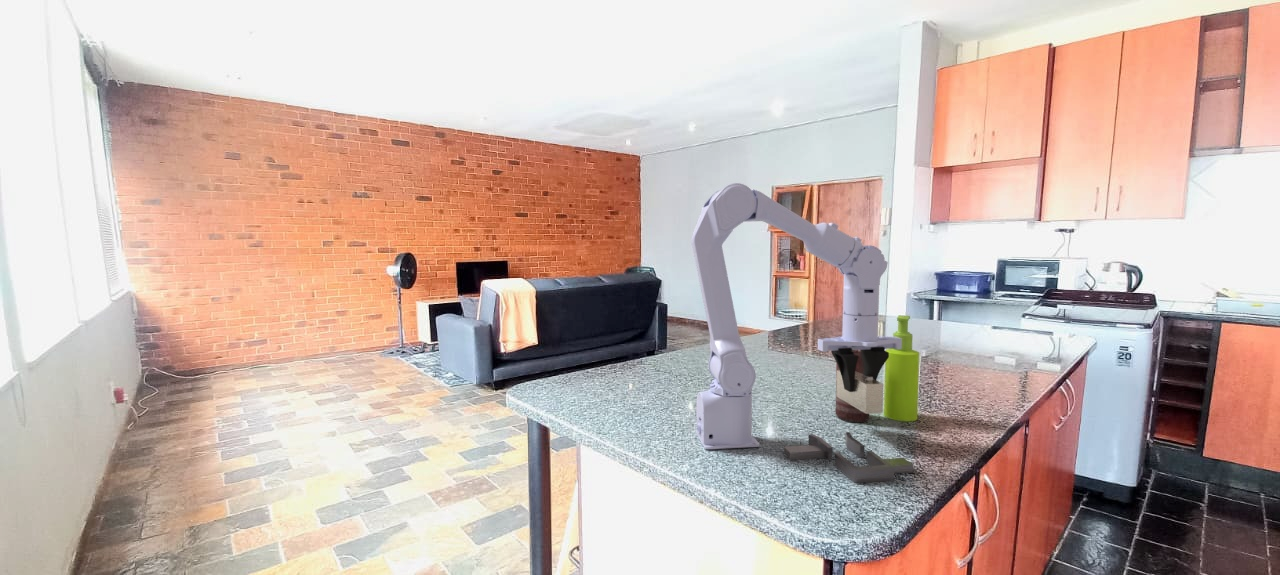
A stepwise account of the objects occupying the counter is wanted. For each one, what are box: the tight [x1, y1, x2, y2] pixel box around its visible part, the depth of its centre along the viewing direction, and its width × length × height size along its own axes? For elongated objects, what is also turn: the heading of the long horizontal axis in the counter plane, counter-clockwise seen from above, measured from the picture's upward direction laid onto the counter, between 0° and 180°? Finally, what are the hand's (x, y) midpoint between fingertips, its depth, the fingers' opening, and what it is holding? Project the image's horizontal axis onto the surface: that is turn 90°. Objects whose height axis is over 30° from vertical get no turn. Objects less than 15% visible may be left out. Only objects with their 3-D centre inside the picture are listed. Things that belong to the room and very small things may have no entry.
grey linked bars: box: [783, 431, 914, 484], centre depth 78 cm, size 16×14×2 cm
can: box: [835, 346, 870, 424], centre depth 97 cm, size 6×6×14 cm
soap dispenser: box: [883, 314, 920, 422], centre depth 98 cm, size 6×7×20 cm
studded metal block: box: [835, 370, 884, 415], centre depth 88 cm, size 3×10×6 cm, turn 6°
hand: (858, 390), depth 88 cm, fingers closed on studded metal block, 3 cm apart
